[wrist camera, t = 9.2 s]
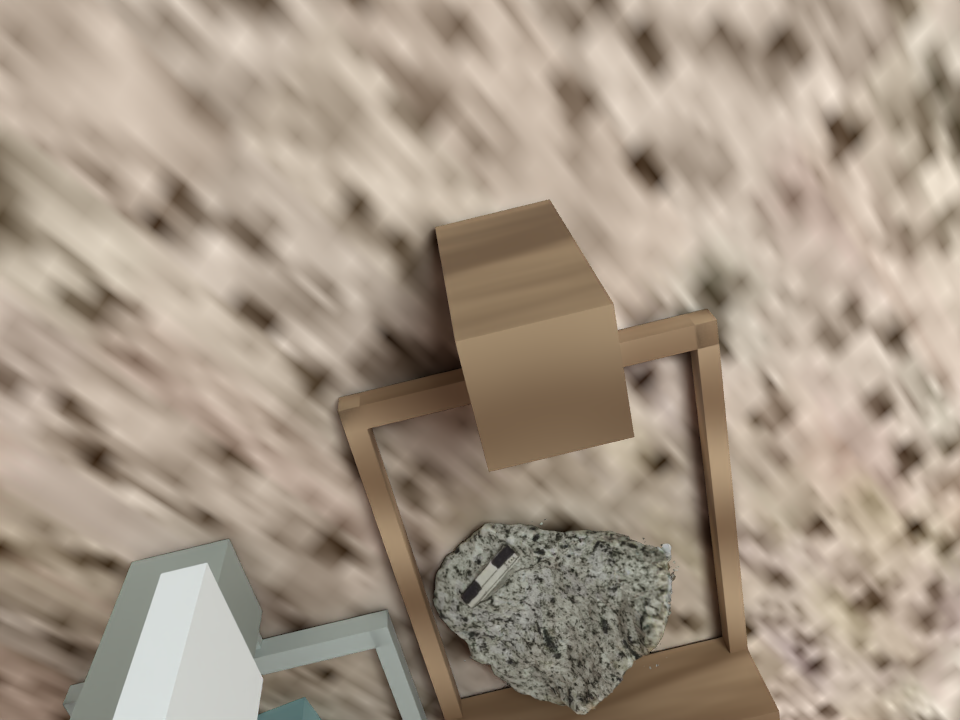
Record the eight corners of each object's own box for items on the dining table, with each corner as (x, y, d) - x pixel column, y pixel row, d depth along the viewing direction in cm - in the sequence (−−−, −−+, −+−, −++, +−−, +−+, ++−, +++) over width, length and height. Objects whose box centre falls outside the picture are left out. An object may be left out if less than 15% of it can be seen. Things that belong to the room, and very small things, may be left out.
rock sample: (440, 516, 30) (608, 725, 27) (577, 424, 35) (733, 595, 32) (373, 621, 38) (500, 792, 35) (493, 534, 42) (613, 679, 40)
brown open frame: (292, 262, 29) (258, 389, 21) (693, 164, 29) (811, 255, 21) (450, 720, 40) (466, 919, 32) (741, 651, 40) (831, 833, 32)
